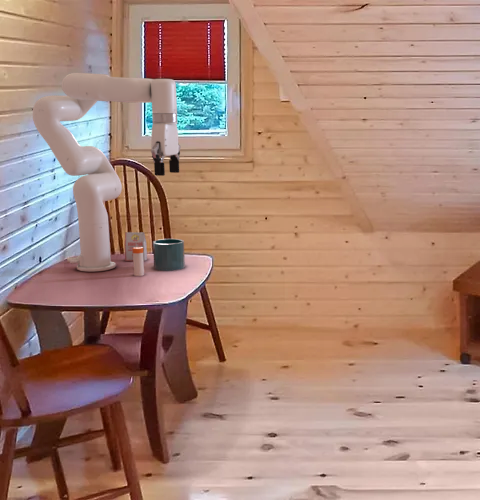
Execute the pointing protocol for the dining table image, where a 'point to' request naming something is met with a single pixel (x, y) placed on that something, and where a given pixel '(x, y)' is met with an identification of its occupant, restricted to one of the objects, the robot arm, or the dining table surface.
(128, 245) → the white printed carton
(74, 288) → the dining table surface
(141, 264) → the glue stick
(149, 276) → the dining table surface
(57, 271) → the dining table surface
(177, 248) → the mug
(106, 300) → the dining table surface
